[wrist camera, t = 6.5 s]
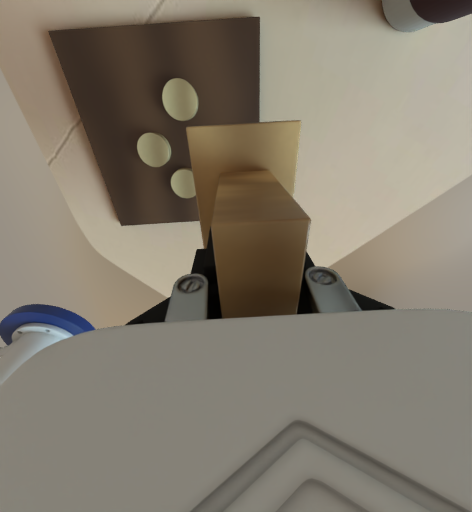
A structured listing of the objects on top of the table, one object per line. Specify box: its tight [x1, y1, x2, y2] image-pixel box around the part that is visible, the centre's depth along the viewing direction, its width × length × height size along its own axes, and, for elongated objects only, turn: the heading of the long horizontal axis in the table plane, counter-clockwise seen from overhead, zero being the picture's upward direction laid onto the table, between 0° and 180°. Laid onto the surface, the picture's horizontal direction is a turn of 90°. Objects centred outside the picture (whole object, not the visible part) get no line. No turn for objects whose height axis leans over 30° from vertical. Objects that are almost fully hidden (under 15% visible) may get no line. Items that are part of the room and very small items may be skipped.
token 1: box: [137, 132, 171, 167], centre depth 25 cm, size 4×4×1 cm
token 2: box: [162, 78, 198, 121], centre depth 23 cm, size 4×4×1 cm
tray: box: [49, 17, 260, 226], centre depth 26 cm, size 20×20×1 cm
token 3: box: [171, 168, 196, 198], centre depth 27 cm, size 4×4×1 cm
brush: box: [186, 120, 311, 319], centre depth 11 cm, size 5×12×10 cm, turn 3°
